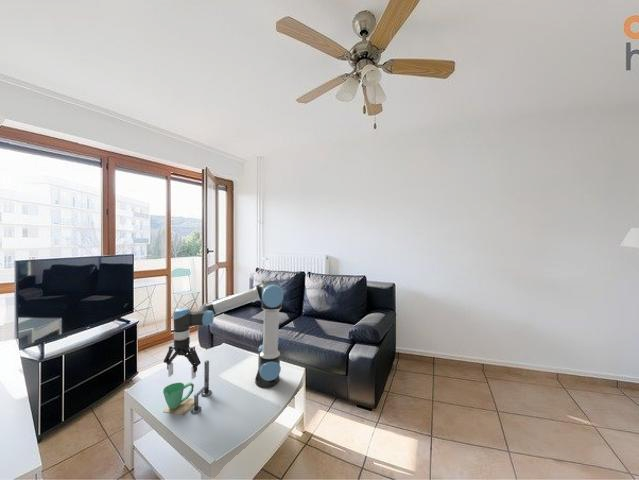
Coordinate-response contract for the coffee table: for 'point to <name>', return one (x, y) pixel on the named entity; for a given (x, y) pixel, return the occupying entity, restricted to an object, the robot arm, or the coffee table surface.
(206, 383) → the metal wall bracket
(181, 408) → the coaster
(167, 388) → the mug
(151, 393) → the coffee table surface
